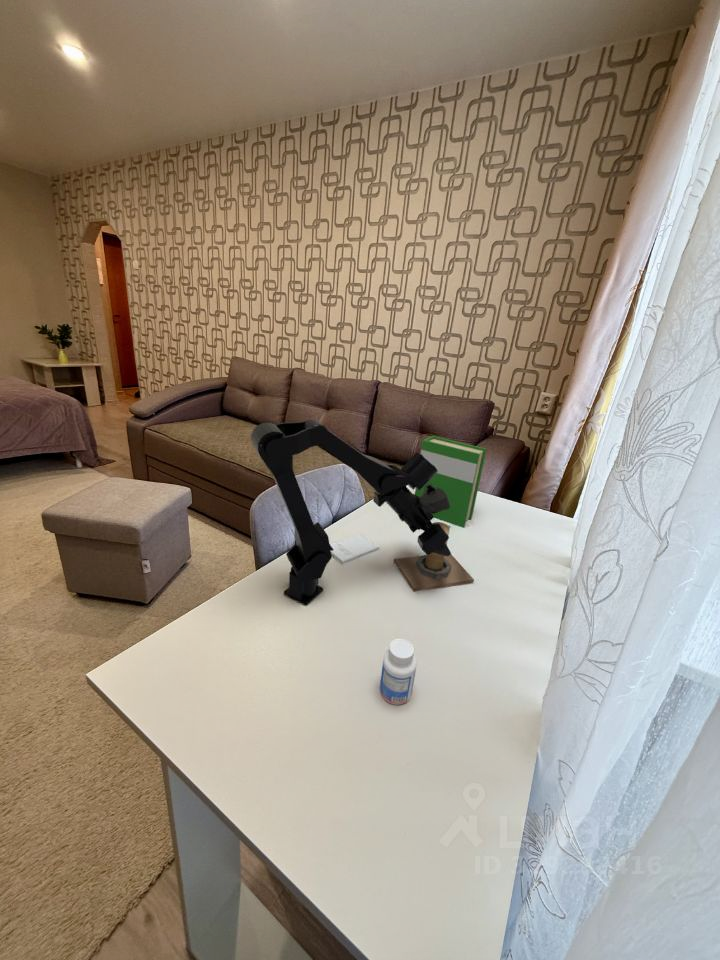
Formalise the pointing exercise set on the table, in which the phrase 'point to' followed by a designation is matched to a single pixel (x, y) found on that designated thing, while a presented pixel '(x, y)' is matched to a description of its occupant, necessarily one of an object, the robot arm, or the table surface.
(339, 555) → the external hard drive
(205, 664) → the table surface
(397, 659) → the pill bottle
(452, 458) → the hardback book
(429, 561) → the light brown tall cylinder
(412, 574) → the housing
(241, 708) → the table surface
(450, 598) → the table surface
